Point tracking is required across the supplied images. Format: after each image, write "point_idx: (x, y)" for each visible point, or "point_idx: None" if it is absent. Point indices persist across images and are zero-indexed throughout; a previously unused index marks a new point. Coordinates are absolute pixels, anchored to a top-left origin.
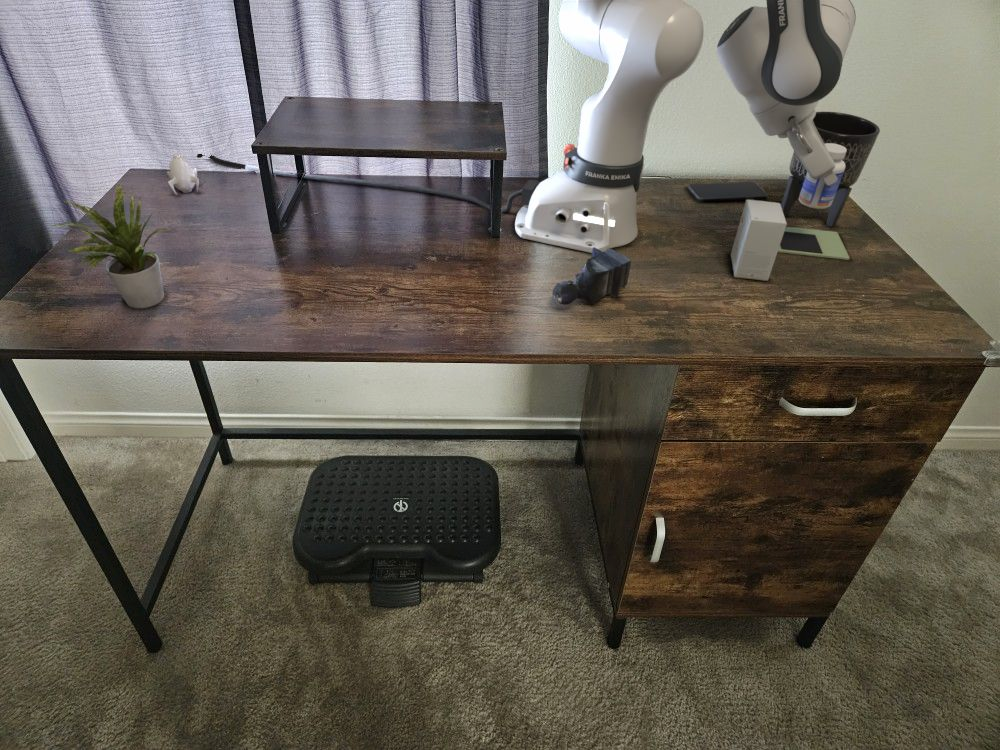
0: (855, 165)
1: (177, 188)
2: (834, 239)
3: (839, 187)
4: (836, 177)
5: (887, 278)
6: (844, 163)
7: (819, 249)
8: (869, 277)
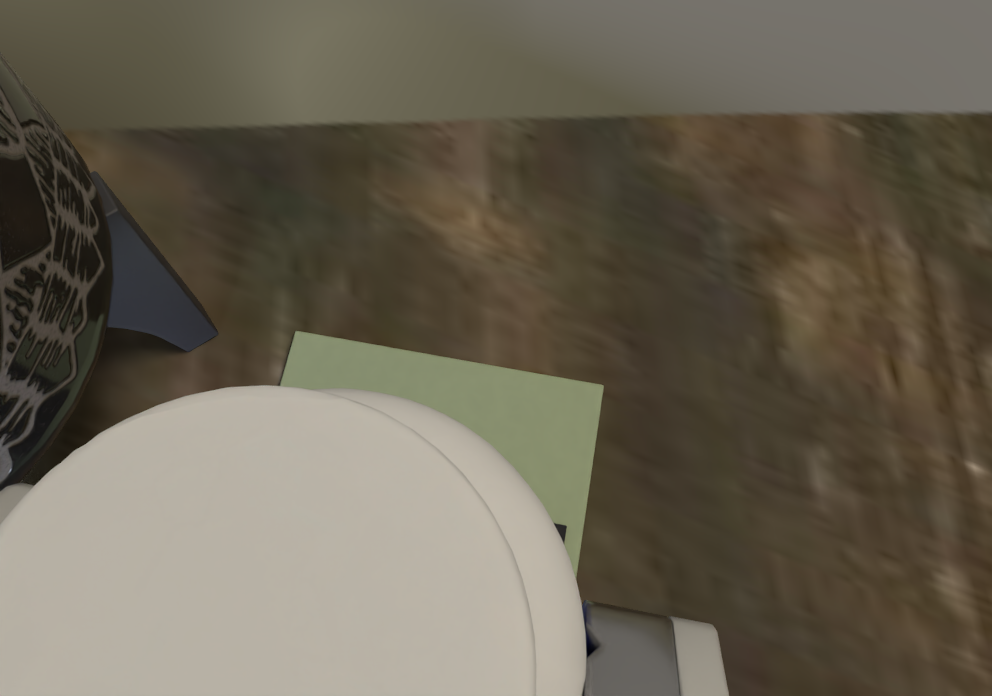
0: (8, 104)
1: None
2: (385, 383)
3: (112, 278)
4: (721, 655)
5: (768, 271)
6: (407, 419)
7: None
8: (773, 355)
